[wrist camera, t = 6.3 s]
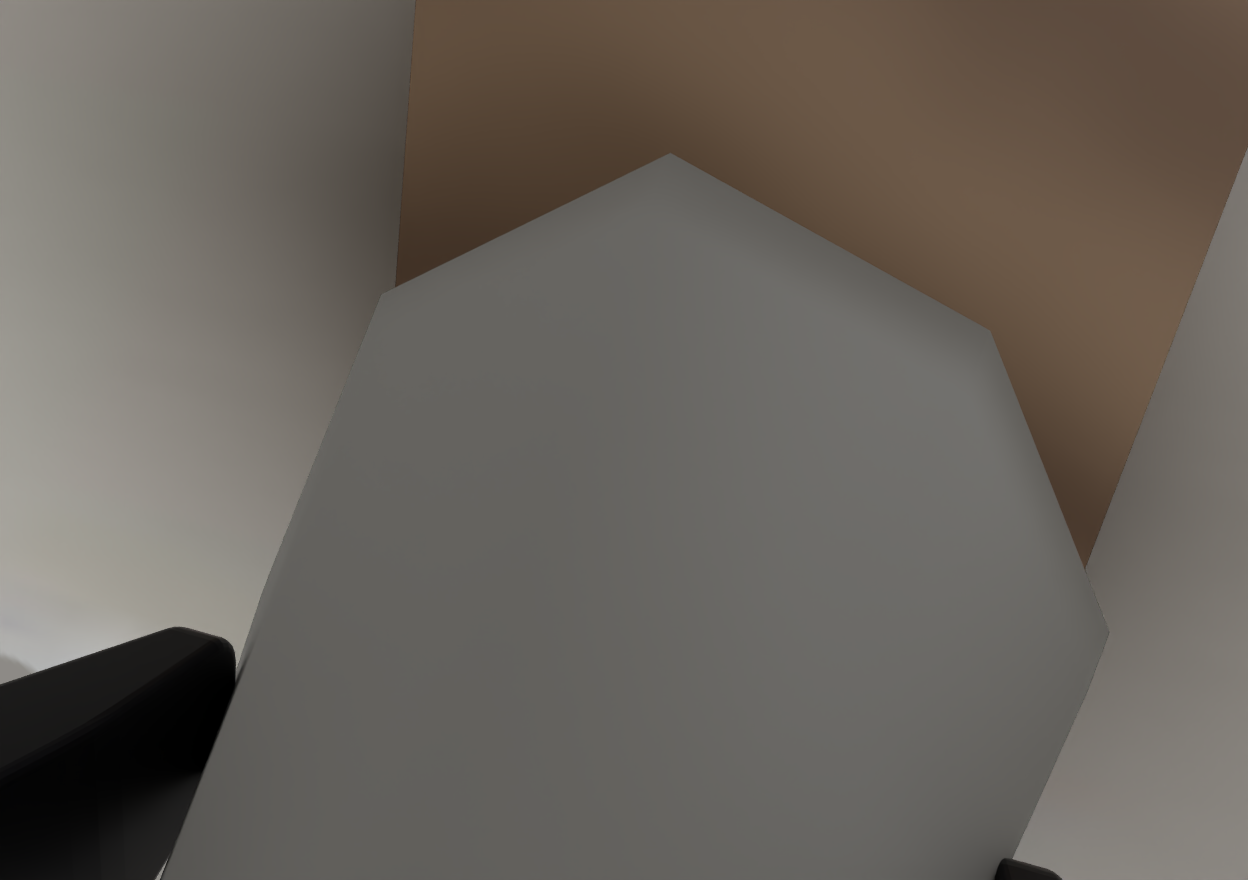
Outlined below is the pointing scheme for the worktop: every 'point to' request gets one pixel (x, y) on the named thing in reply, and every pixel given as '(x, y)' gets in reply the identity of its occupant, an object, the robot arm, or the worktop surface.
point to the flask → (656, 576)
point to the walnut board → (879, 160)
